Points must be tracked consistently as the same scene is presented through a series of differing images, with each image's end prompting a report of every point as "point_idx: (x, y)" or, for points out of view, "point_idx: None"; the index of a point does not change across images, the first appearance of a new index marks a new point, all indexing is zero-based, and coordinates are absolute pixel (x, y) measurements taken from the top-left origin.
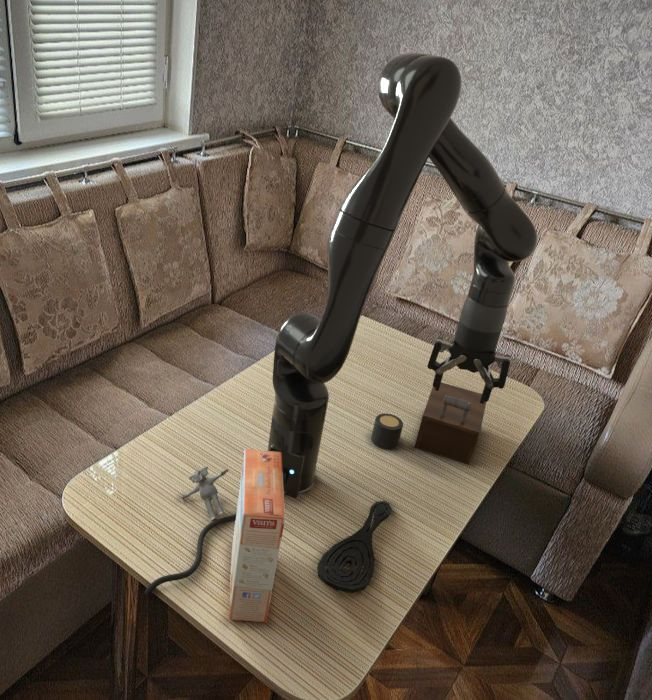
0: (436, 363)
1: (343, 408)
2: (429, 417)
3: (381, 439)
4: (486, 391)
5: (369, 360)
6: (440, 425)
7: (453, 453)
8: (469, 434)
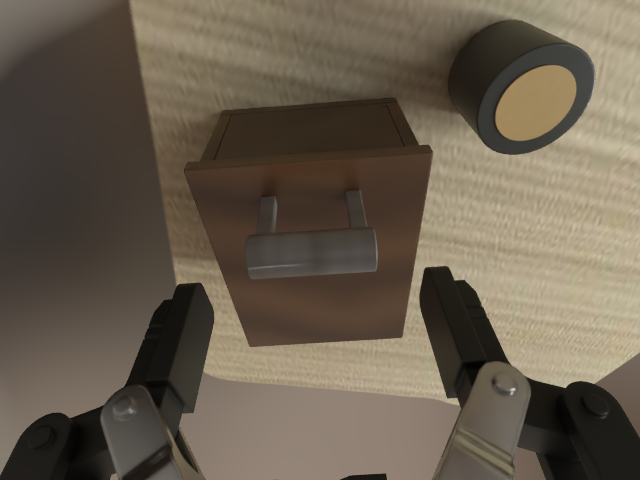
0: (543, 441)
1: (616, 162)
2: (402, 154)
3: (533, 29)
4: (155, 357)
5: (517, 339)
6: None
7: (274, 116)
8: None
